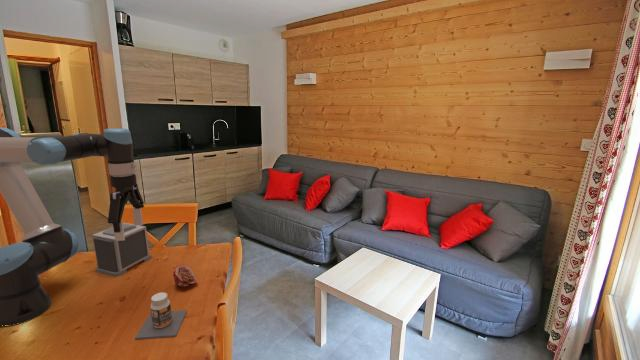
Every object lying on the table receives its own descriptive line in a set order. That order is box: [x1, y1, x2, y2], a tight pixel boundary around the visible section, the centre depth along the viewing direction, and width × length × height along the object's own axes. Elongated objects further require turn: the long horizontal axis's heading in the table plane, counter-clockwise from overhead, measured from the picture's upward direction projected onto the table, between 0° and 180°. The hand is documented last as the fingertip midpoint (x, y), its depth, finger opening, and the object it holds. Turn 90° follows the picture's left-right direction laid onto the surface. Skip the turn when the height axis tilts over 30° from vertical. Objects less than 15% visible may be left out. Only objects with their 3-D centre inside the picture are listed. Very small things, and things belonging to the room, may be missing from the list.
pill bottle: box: [150, 292, 172, 328], centre depth 99 cm, size 6×6×10 cm
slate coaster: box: [134, 309, 188, 341], centre depth 100 cm, size 12×12×1 cm
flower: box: [172, 264, 198, 289], centre depth 122 cm, size 10×9×8 cm
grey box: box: [92, 222, 153, 278], centre depth 136 cm, size 18×13×18 cm
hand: (129, 232), depth 109 cm, fingers open, 13 cm apart
